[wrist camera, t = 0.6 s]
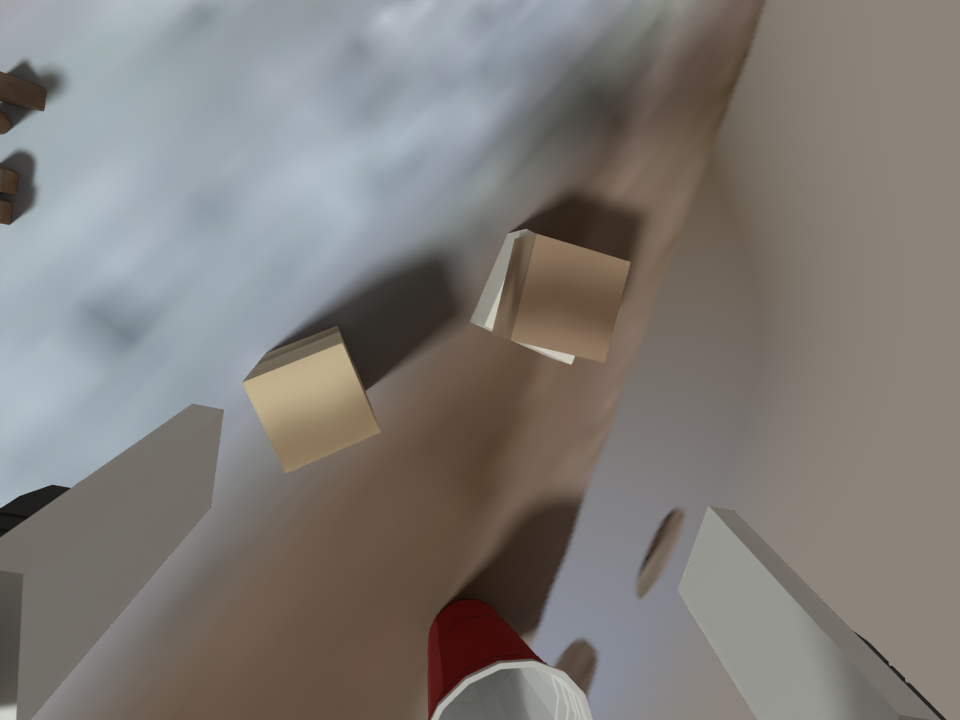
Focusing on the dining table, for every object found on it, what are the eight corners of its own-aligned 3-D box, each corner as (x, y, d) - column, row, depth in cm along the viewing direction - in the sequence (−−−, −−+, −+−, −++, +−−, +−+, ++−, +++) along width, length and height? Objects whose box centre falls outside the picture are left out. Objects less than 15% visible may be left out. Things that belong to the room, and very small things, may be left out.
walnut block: (514, 238, 36) (537, 233, 32) (600, 263, 38) (630, 262, 34) (491, 334, 37) (510, 340, 33) (576, 354, 38) (604, 362, 35)
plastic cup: (490, 539, 43) (550, 633, 31) (547, 639, 46) (622, 760, 34) (367, 618, 41) (383, 750, 30) (435, 718, 44) (474, 873, 32)
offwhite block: (507, 233, 40) (526, 228, 36) (585, 273, 42) (611, 273, 38) (469, 321, 40) (484, 325, 36) (548, 357, 42) (571, 364, 38)
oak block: (265, 353, 36) (242, 382, 26) (337, 325, 37) (342, 342, 27) (296, 419, 38) (286, 473, 27) (365, 390, 39) (380, 432, 28)
